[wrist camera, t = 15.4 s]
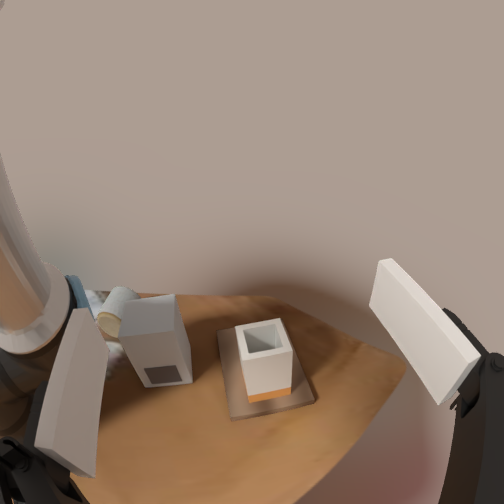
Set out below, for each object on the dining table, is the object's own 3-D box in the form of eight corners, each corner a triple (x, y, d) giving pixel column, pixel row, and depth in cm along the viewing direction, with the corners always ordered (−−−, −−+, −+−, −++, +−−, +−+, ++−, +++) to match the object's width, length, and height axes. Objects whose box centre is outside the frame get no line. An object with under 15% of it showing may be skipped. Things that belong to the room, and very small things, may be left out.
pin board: (231, 421, 36) (226, 403, 33) (217, 335, 51) (212, 314, 49) (313, 403, 37) (317, 384, 35) (282, 323, 53) (281, 301, 50)
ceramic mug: (102, 338, 51) (88, 309, 47) (119, 312, 58) (108, 283, 54) (147, 346, 49) (135, 315, 46) (162, 317, 56) (152, 286, 53)
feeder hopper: (145, 388, 41) (117, 337, 35) (148, 352, 48) (126, 300, 42) (192, 383, 42) (173, 331, 36) (190, 347, 49) (174, 293, 43)
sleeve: (249, 402, 37) (242, 360, 32) (242, 371, 42) (234, 326, 37) (290, 394, 38) (292, 350, 33) (280, 363, 43) (279, 318, 38)
